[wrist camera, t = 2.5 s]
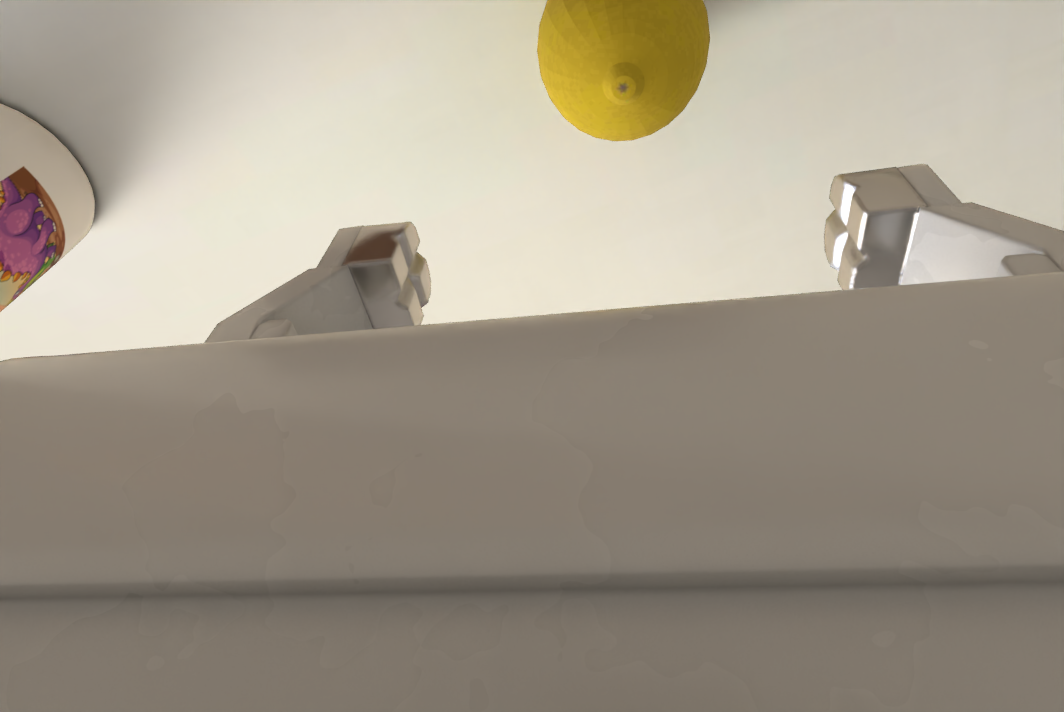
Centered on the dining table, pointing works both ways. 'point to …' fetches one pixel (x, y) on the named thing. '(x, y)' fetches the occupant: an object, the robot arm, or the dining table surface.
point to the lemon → (622, 62)
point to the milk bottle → (37, 202)
